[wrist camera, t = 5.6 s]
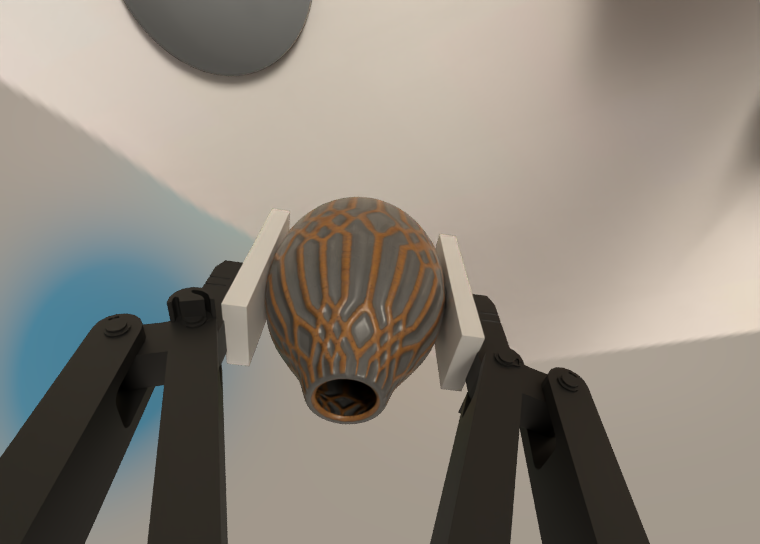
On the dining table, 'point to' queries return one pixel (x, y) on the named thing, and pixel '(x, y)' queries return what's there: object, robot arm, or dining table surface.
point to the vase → (354, 305)
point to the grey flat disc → (223, 31)
